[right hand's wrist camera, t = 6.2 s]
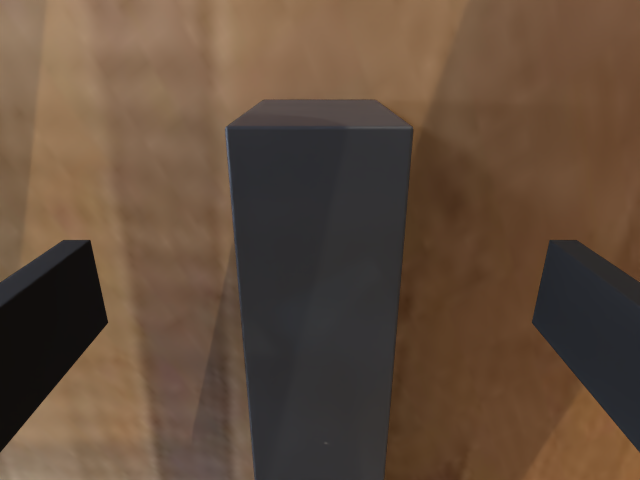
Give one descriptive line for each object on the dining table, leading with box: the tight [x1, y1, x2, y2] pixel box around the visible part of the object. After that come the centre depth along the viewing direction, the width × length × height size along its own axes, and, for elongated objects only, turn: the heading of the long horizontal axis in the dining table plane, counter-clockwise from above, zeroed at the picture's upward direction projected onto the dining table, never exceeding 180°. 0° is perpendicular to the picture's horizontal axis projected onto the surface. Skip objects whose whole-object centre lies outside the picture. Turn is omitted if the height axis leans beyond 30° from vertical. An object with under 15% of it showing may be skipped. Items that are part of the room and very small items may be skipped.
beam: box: [225, 100, 413, 480], centre depth 22 cm, size 36×5×8 cm, turn 0°
